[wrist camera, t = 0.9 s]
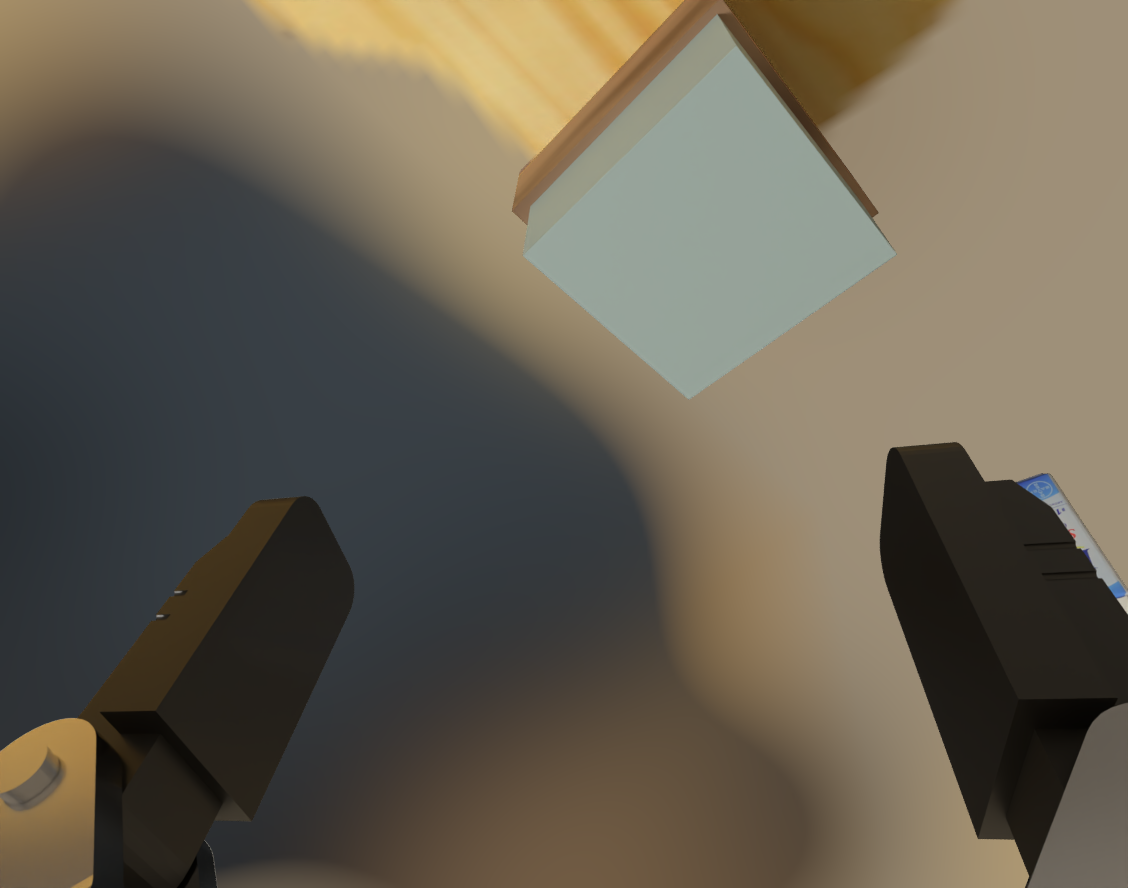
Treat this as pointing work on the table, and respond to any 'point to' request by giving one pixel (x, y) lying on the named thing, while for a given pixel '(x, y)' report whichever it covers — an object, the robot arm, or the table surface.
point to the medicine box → (1077, 531)
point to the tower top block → (703, 219)
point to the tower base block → (633, 79)
